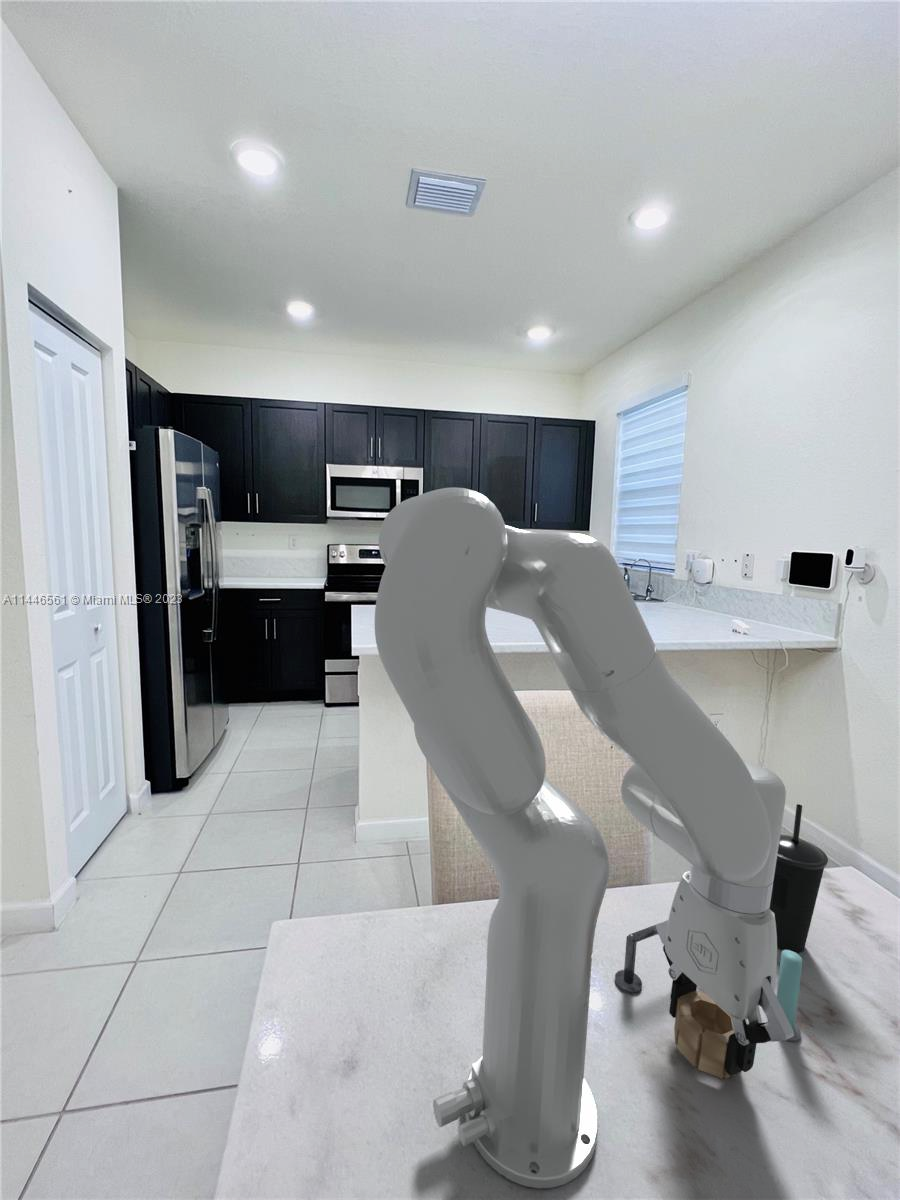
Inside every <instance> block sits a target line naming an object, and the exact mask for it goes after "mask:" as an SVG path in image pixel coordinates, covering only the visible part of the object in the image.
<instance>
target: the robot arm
mask: <svg viewBox="0 0 900 1200" xmlns="http://www.w3.org/2000/svg"><path fill="white" fill-rule="evenodd" d="M378 549H379V550H378V551H379V554H380V557H381V559H382V562H383V564H384V566H385V567H384V571H383V573H382V576H381V579H380V582H379V587H378V591H377V596H376V600H375V609H374V636H375V643H376V647H377V650H378V651H377V652H378V656H379V658H380V660H381V663H382V665H383V668H384V670H385V672H386V674H387V676H388V678H389V680H390V682H391V684H392V686H393V688H394V690H395V691H396V693H397V695H398V696H399V697H398V698H399V699H400V700H401V702H402V703H403V705H404V708H405V710H406V711H407V713H408V715H409V717H410V719H411V721H412V723H413V729H414V730H413V731H414V735H415V739H416V742H417V745H418V747H419V749H420V751H421V753H422V754H423V756H424V757H425V760H426V761H427V763H428V764H429V766H430V768H431V769H432V771H433V773H434V774H435V776H436V777H437V779H438V781H439V782H440V784H441V785H442V787H443V788H444V790H445V792H446V794H447V795H448V797H449V799H450V800H451V802H452V803H453V805H454V806H455V809H456V810H457V811H458V813H459V815H460V816H461V818H462V820H463V821H464V823H465V824H466V826H467V828H468V829H469V830H470V832H471V834H472V836H473V837H474V839H475V840H476V842H477V844H478V845H479V846H480V848H481V850H482V851H483V853H484V855H485V857H486V859H487V861H488V862H489V864H490V865H491V866H492V869H493V870H494V872H495V874H496V877H497V880H498V886H499V887H498V889H499V897H498V900H497V903H496V906H495V907H494V909H493V912H492V913H491V916H490V919H489V920H490V921H489V924H488V932H487V940H486V941H487V944H486V975H485V976H486V977H485V997H484V999H485V1000H484V1019H483V1034H482V1035H483V1038H482V1039H483V1040H482V1055H481V1056H480V1057H479V1058H478V1059H477V1060H476V1061H475V1062H472V1064H471V1069H470V1070H469V1074H468V1077H467V1079H466V1080H465V1081H464V1082H463V1083H462V1088H460V1089H458V1090H456V1091H453V1092H452V1091H450V1092H447V1093H446V1094H443V1095H441V1096H439V1097H437V1098H435V1099H433V1102H432V1107H433V1114H434V1118H435V1122H436V1123H437V1125H438V1127H439V1128H443V1127H444V1126H446V1125H448V1124H450V1123H453V1122H454V1121H456V1120H459V1119H460V1117H463V1116H464V1118H465V1122H463V1123H460V1124H459V1125H458V1126H457V1131H458V1132H457V1133H458V1138H459V1141H460V1143H461V1144H462V1146H463V1147H466V1146H467V1145H470V1144H472V1143H473V1144H474V1146H475V1148H476V1150H477V1151H478V1152H479V1154H480V1156H482V1158H483V1159H484V1161H485V1162H486V1163H487V1164H489V1166H491V1168H492V1169H493V1170H495V1171H496V1172H497V1173H498V1174H500V1175H501V1176H503V1177H504V1178H506V1179H508V1180H510V1181H512V1182H514V1183H516V1184H518V1185H521V1186H524V1187H529V1188H533V1189H553V1188H557V1187H559V1186H560V1187H561V1186H563V1185H566V1184H568V1183H570V1182H572V1181H573V1180H574V1179H576V1178H577V1177H578V1176H580V1174H581V1173H583V1171H585V1169H586V1168H587V1166H588V1165H589V1163H590V1161H591V1160H592V1158H593V1156H594V1153H595V1150H596V1146H597V1140H598V1131H599V1114H598V1109H597V1103H596V1101H595V1098H594V1095H593V1092H592V1090H591V1089H590V1087H589V1085H588V1083H587V1081H586V1079H585V1068H586V1067H585V1063H586V1050H587V1049H586V1048H587V1039H588V1038H587V1037H588V1036H587V1035H588V1022H589V1009H590V1007H589V1005H590V996H591V995H590V993H591V992H590V991H591V978H592V964H593V963H592V962H593V949H594V941H595V935H596V934H595V933H596V927H597V923H598V918H599V914H600V910H601V907H602V904H603V900H604V897H605V895H606V891H607V886H608V884H609V880H610V874H611V873H610V871H611V862H610V861H611V860H610V854H609V850H608V847H607V844H606V842H605V840H604V837H603V835H602V834H601V832H600V830H599V829H598V827H597V825H596V824H595V823H594V821H593V820H592V819H591V818H590V817H589V816H588V815H587V813H586V812H585V811H584V810H583V809H582V808H581V807H580V806H579V805H578V804H576V803H575V802H574V801H573V800H572V799H571V798H570V797H569V796H568V795H567V794H566V793H564V792H563V791H562V790H561V789H560V788H559V787H557V786H556V785H555V784H554V783H553V782H552V781H550V780H549V779H548V778H547V777H546V766H547V763H546V755H545V749H544V746H543V743H542V740H541V737H540V735H539V733H538V732H537V729H536V727H535V725H534V723H533V722H532V720H531V718H530V717H529V715H528V713H527V712H526V710H525V709H524V707H523V705H522V704H521V702H520V700H519V698H518V696H517V694H516V693H515V691H514V689H513V687H512V685H511V683H510V682H509V680H508V678H507V676H506V674H505V673H504V671H503V669H502V667H501V665H500V663H499V660H498V658H497V657H496V654H495V652H494V650H493V648H492V645H491V643H490V641H489V638H488V634H487V629H486V614H487V608H489V609H493V610H497V611H501V612H506V613H509V614H513V615H516V616H520V617H522V618H526V619H529V620H531V621H532V622H533V623H534V625H535V627H536V629H538V632H539V633H540V636H541V638H542V640H543V642H544V643H545V646H546V647H547V649H548V650H549V652H550V654H551V656H552V658H553V660H554V662H555V663H556V665H557V667H558V669H559V671H560V674H561V675H562V677H563V679H564V681H565V683H566V686H567V687H568V689H569V691H570V692H571V694H572V697H573V698H574V701H575V702H576V704H577V706H578V708H579V710H580V711H581V712H582V714H583V715H584V716H585V717H586V719H588V721H590V723H591V724H592V725H593V726H594V727H595V729H596V730H597V731H598V732H600V734H601V735H602V736H603V737H604V738H605V739H606V740H607V741H608V742H610V743H611V744H612V745H613V746H614V747H615V748H616V749H618V750H619V751H620V752H621V753H623V755H625V757H627V758H628V759H629V760H630V761H631V762H632V763H634V764H633V765H631V767H629V768H628V769H627V771H626V772H625V774H624V776H623V778H622V781H621V786H620V787H621V788H620V791H621V798H622V801H623V804H624V806H625V808H626V809H627V811H628V812H629V814H630V815H631V816H632V817H633V818H634V819H635V820H636V821H637V822H638V823H639V824H641V826H643V827H644V828H645V829H646V830H648V831H649V832H650V833H652V834H653V835H654V836H656V838H657V839H659V840H660V841H662V842H664V843H665V844H666V845H668V847H670V848H671V849H673V850H674V851H675V852H676V853H678V854H679V855H680V856H682V858H683V859H685V860H686V861H687V862H689V864H690V870H689V871H685V872H684V873H683V874H682V877H681V879H680V881H679V883H678V886H677V888H676V890H675V894H674V895H673V896H674V897H673V900H672V904H671V906H670V907H671V908H670V912H669V916H668V921H667V920H665V921H666V922H664V921H663V922H660V923H656V924H657V925H656V924H655V925H656V929H657V932H658V934H657V935H658V936H659V939H660V941H661V943H662V945H663V946H662V951H663V953H664V955H665V957H666V960H667V963H668V966H669V967H668V971H667V972H668V975H669V977H670V978H671V980H672V982H671V989H670V990H671V991H670V1002H669V1003H670V1004H669V1010H668V1011H669V1012H668V1013H669V1016H671V1017H672V1018H673V1019H675V1018H676V1010H677V1003H678V998H679V999H680V996H683V995H685V994H688V993H690V992H693V991H695V992H696V993H697V987H698V988H699V989H700V990H702V991H703V993H706V994H707V995H708V996H709V997H710V998H711V999H712V1000H714V1001H715V1002H716V1003H717V1004H718V1005H719V1006H720V1007H721V1008H722V1009H724V1010H725V1011H726V1012H727V1013H728V1014H730V1015H731V1016H732V1021H733V1026H734V1031H735V1033H733V1034H731V1035H730V1036H729V1039H728V1046H727V1053H726V1060H725V1071H726V1072H727V1073H728V1074H729V1075H730V1077H733V1076H735V1075H737V1074H739V1073H741V1072H744V1073H747V1072H748V1071H750V1070H752V1068H753V1066H754V1062H755V1058H756V1057H755V1056H756V1049H757V1044H766V1043H769V1042H770V1043H771V1042H784V1041H786V1040H787V1039H789V1038H791V1037H793V1036H794V1031H793V1029H792V1027H791V1025H790V1023H789V1021H788V1019H787V1017H786V1015H785V1013H784V1011H783V1009H782V1007H781V1005H780V1003H779V1001H778V999H777V994H776V993H775V988H776V979H777V967H778V966H777V963H778V948H777V933H776V922H775V914H774V913H773V912H772V911H771V910H770V901H771V895H772V888H773V881H774V874H775V867H776V861H777V854H778V848H779V841H780V835H782V834H781V832H782V827H783V819H784V812H785V807H786V806H785V805H786V796H787V790H786V786H785V783H784V781H783V780H782V778H780V776H778V774H776V773H775V772H773V771H771V770H770V769H768V768H765V767H763V766H761V765H759V764H755V763H752V762H749V761H745V760H743V759H742V757H741V756H740V754H739V753H738V752H737V749H735V748H734V746H733V745H732V744H731V742H730V741H729V740H728V739H727V738H726V736H725V735H724V734H723V733H722V732H721V730H720V729H719V728H718V727H717V726H716V725H715V723H714V722H713V721H712V720H711V719H710V718H709V717H708V716H707V715H706V713H704V711H703V710H702V709H701V708H700V706H699V705H698V704H697V703H696V701H695V700H694V699H693V698H692V697H691V696H690V695H689V693H687V692H686V690H685V689H684V688H683V687H682V686H681V685H680V684H679V683H678V682H677V681H676V680H675V679H674V678H673V677H672V675H671V674H670V672H669V670H668V669H667V667H666V665H665V663H664V662H663V658H662V657H661V656H660V653H659V651H658V649H657V646H656V643H654V640H653V638H652V636H651V634H650V631H649V630H648V628H647V625H646V623H645V621H644V618H643V616H642V614H641V612H640V610H639V608H638V606H637V603H636V601H635V599H634V597H633V595H632V593H631V591H630V588H629V586H628V585H627V583H626V581H625V578H624V576H623V573H622V571H621V569H620V568H619V565H618V563H617V561H616V559H615V558H614V555H613V554H612V553H611V552H610V550H609V548H607V546H606V545H604V544H603V543H602V542H601V541H599V540H598V539H596V538H595V537H592V536H589V535H586V534H584V533H576V532H565V531H563V532H562V531H560V532H559V531H557V532H553V531H551V532H545V531H544V532H535V531H534V532H533V531H530V530H529V531H528V530H525V529H519V528H516V527H513V526H510V525H506V523H505V521H504V518H503V516H502V513H501V512H500V511H499V509H498V508H497V506H496V505H495V503H494V502H492V501H491V500H490V499H489V498H488V497H487V496H485V495H484V494H483V493H480V492H478V491H476V490H472V489H468V488H465V487H442V488H439V489H434V490H430V491H427V492H424V493H421V494H419V495H417V496H413V497H410V498H408V499H404V500H403V501H401V502H400V503H398V504H397V505H395V506H394V507H393V508H392V509H391V510H390V511H389V512H388V513H387V515H386V516H385V518H384V520H383V522H382V524H381V526H380V529H379V534H378ZM760 1007H761V1008H762V1011H763V1013H764V1015H765V1017H766V1019H767V1022H763V1020H762V1015H761V1009H760ZM746 1019H747V1020H746ZM747 1021H748V1023H747Z"/></svg>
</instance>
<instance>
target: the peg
mask: <svg viewBox="0 0 900 1200" xmlns="http://www.w3.org/2000/svg"><path fill="white" fill-rule="evenodd" d="M802 967H803V958H802V956H800V954H799V953H795V952H793V951H790V950H781V955H780V965H779V972H778V981H777V989H776V991H777V992H776V997H777V999H778V1001H779V1003H780V1005H781V1007H782V1009H783V1011H784V1013H785V1015H786V1017H787V1019H788V1021H789V1023H790V1025H791V1027H792V1029H793V1031H794V1036H793V1037H791V1038H789V1039H787V1040H785V1041H786V1042H791V1043H794V1042H798V1041H800V1039H801V1033H802V1031H801V1028H800V1026H799V1025H798V1023H797V1022H796V1020H797V1011H798V1002H799V994H800V985H801V977H802V976H801V975H802V969H803V968H802Z"/></svg>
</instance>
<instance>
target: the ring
mask: <svg viewBox="0 0 900 1200" xmlns="http://www.w3.org/2000/svg"><path fill="white" fill-rule="evenodd" d="M673 1031H674V1044H675V1046H677V1047H676V1049H677V1050H678V1051H679V1052H680V1053H681V1054H682V1055H683V1056H684V1057H685V1058H686V1059H687V1061H688V1062H689V1063H690V1064H691V1065H692V1066H693V1067H696V1066H697V1068H698V1070H699V1071H700V1072H701V1071H702V1072H704V1073H707V1074H709V1075H713V1076H716V1077H718V1078H719V1079H720V1078H721V1079H723V1077H724V1078H725V1079H728V1078H730V1077H731V1076H730V1075H729V1074H728V1073H727V1072H726V1071H725V1060H726V1053H727V1046H728V1039H729V1036H730V1035H731V1034H733V1033H735V1031H734V1026H733V1021H732V1016H731V1015H730V1014H728V1013H727V1012H726V1011H725V1010H724V1009H722V1008H721V1007H720V1006H719V1005H718V1004H717V1003H716V1002H715V1001H714V1000H712V999H711V998H710V997H709V996H708V995H707V994H706V993H705V992H704V991H703V992H702V991H699V990H696V992H695V991H693V992H690V993H688V994H685V995H683V996H680V999H679V998H678V1003H677V1010H676V1018H674V1026H673Z"/></svg>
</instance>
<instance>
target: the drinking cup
mask: <svg viewBox="0 0 900 1200" xmlns="http://www.w3.org/2000/svg"><path fill="white" fill-rule="evenodd" d="M795 807H796V808H795V814H794V815H795V816H794V822H793V823H794V824H793V831H792V835H788V834H780V841H779V848H778V854H777V861H776V867H775V874H774V881H773V888H772V895H771V901H770V910H771V911H772V912H773V913H774V914H775V922H776V933H777V949H779V950H781V951H783V950H790V951H793V952H795V953H797V954H800V953H802V952H804V950H805V947H806V945H807V944H806V943H807V939H808V935H809V932H810V927H811V923H812V919H813V914H814V911H815V907H816V902H817V899H818V895H819V890H820V886H821V882H822V878H823V873H824V870H825V868H826V867H827V865H828V864H829V857H828V856H827V853H825V851H824V850H822V849H821V848H819V847H818V846H817V845H815V844H813V843H811V842H809V841H807V840H805V839H802V838H800V830H801V824H802V823H801V821H802V813H803V805H801V804H798V803H797V804H796V806H795Z"/></svg>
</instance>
